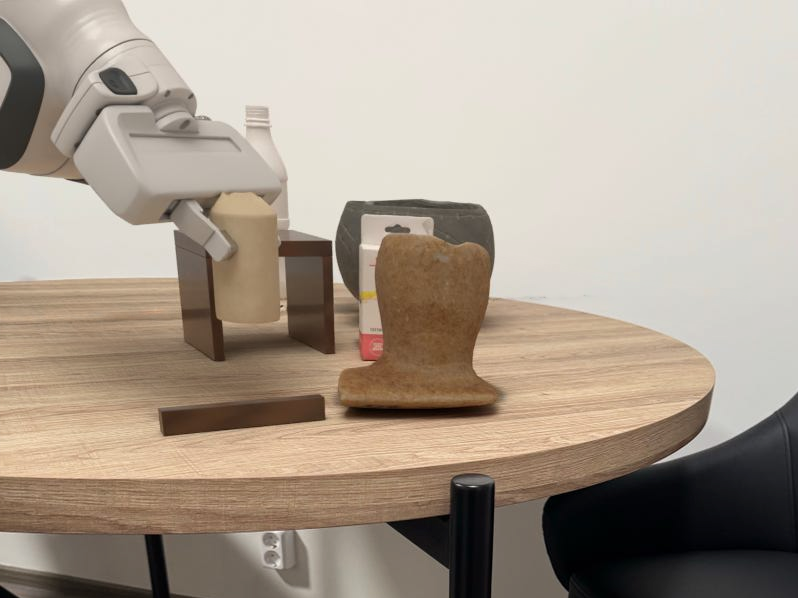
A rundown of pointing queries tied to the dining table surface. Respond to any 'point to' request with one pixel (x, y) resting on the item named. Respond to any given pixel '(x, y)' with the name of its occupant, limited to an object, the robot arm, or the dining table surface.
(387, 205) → the bowl
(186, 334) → the shelf unit
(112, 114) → the robot arm
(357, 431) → the dining table surface
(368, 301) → the ink cartridge box
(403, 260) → the tan flared-base block
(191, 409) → the rail
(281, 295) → the water bottle
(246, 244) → the candle
